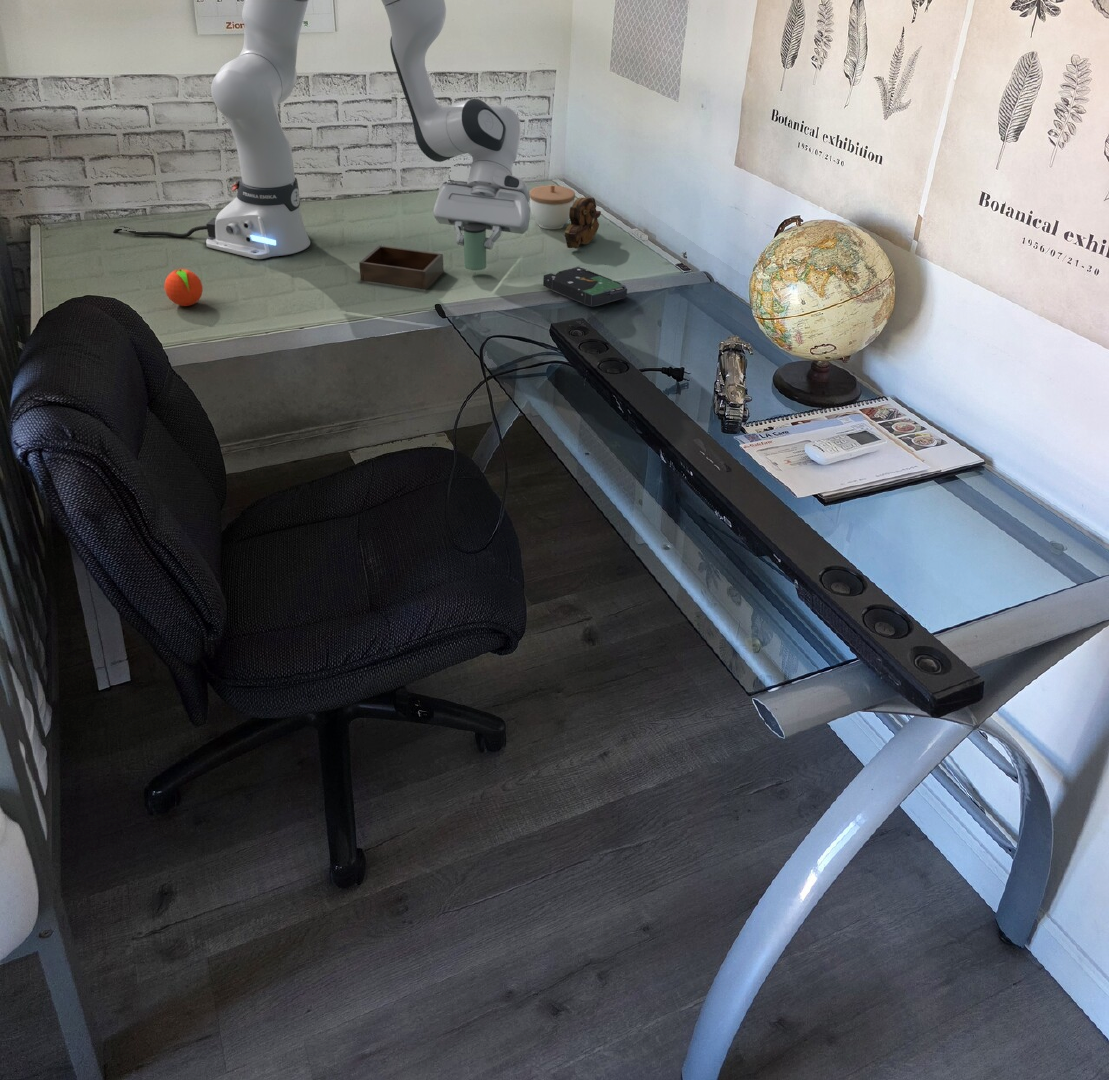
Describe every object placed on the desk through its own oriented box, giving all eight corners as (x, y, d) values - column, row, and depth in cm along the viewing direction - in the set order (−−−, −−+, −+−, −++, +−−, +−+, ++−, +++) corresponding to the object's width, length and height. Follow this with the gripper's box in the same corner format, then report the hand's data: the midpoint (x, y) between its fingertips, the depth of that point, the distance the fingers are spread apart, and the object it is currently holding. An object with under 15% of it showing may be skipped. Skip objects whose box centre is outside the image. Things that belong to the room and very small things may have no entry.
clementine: (211, 309, 193) (205, 274, 188) (175, 316, 190) (168, 281, 185) (199, 295, 198) (193, 260, 194) (164, 301, 195) (156, 266, 191)
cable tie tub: (460, 269, 208) (459, 229, 203) (468, 261, 211) (467, 221, 206) (482, 272, 207) (482, 232, 202) (489, 263, 211) (489, 224, 205)
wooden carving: (581, 257, 221) (583, 212, 215) (562, 253, 223) (564, 209, 217) (602, 233, 234) (605, 190, 228) (584, 230, 235) (586, 187, 229)
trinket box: (568, 235, 232) (570, 194, 227) (524, 230, 234) (525, 190, 228) (577, 220, 241) (579, 180, 235) (534, 215, 242) (535, 176, 236)
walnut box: (360, 282, 206) (359, 262, 203) (380, 264, 214) (379, 245, 211) (426, 292, 203) (425, 272, 200) (443, 273, 211) (443, 254, 209)
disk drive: (541, 288, 206) (591, 308, 197) (542, 275, 204) (592, 294, 196) (577, 279, 212) (627, 298, 203) (578, 266, 211) (628, 284, 202)
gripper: (437, 171, 207) (422, 233, 205) (531, 182, 203) (517, 245, 201) (445, 186, 213) (431, 246, 211) (537, 197, 209) (523, 259, 207)
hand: (474, 246), depth 206 cm, fingers closed on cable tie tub, 4 cm apart
